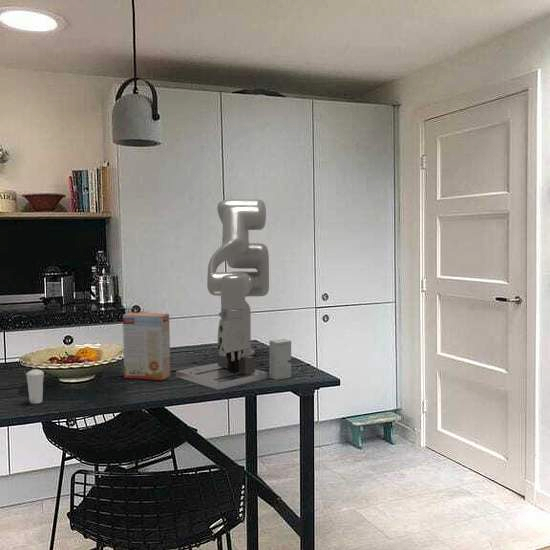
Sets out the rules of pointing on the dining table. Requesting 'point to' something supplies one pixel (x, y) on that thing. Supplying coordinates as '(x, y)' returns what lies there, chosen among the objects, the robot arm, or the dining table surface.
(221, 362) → the fader
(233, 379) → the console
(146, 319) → the cracker box
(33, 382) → the milkshake
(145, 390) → the dining table surface
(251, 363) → the fader
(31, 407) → the dining table surface
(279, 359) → the skincare box
